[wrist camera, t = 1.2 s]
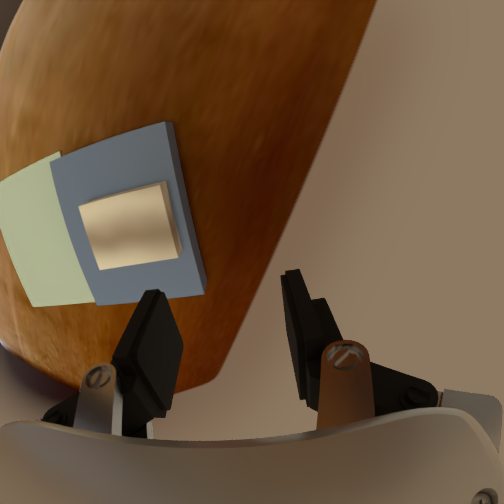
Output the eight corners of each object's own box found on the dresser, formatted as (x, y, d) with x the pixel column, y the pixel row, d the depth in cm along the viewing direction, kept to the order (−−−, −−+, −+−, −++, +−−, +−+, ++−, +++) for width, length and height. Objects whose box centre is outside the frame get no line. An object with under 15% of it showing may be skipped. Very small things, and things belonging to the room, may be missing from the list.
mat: (-10, 187, 26) (-11, 188, 25) (61, 150, 25) (59, 151, 25) (34, 306, 34) (33, 307, 33) (107, 299, 33) (106, 300, 33)
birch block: (87, 200, 25) (78, 206, 23) (165, 180, 25) (159, 184, 23) (107, 261, 28) (99, 270, 26) (182, 249, 27) (178, 257, 26)
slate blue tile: (63, 158, 25) (49, 162, 23) (172, 122, 25) (164, 121, 22) (106, 292, 33) (97, 305, 30) (207, 280, 32) (204, 294, 30)
